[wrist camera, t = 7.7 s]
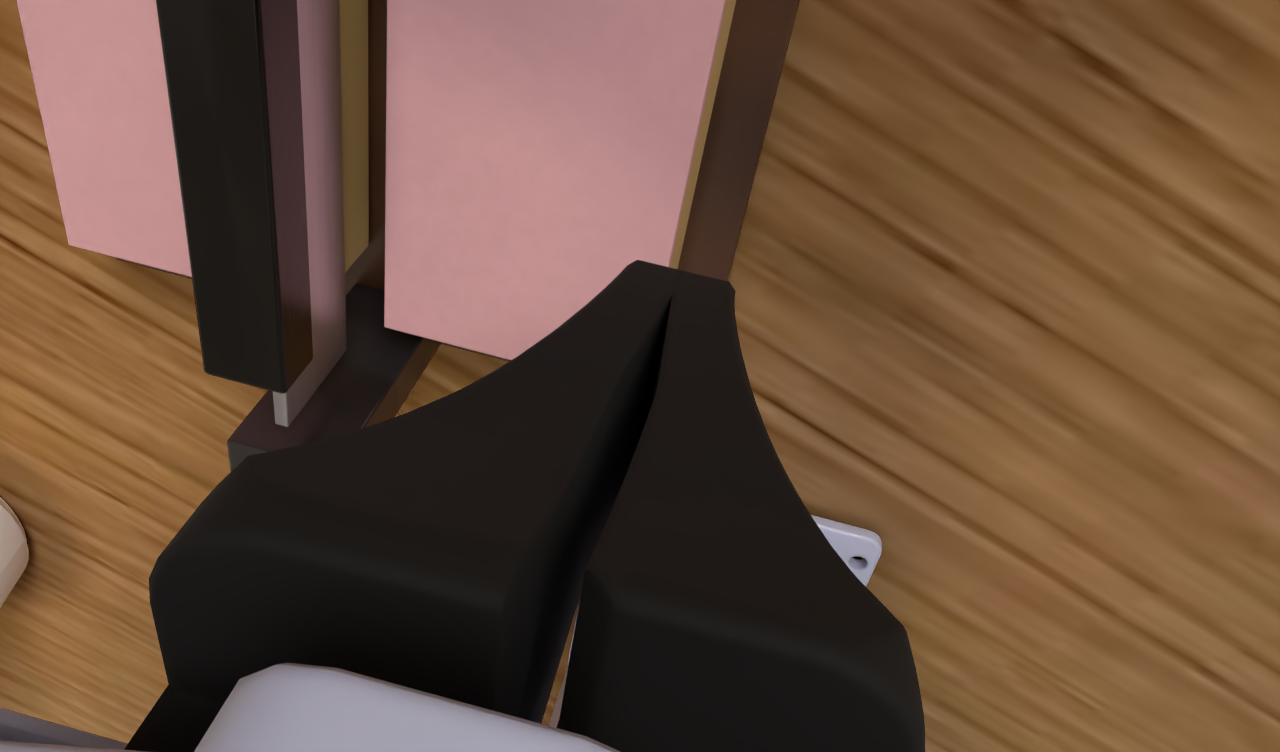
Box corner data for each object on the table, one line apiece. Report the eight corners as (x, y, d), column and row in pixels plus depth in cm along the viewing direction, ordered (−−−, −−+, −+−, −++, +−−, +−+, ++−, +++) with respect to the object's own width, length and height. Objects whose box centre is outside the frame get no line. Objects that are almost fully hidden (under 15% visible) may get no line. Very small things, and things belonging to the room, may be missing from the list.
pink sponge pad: (666, 321, 25) (641, 395, 23) (144, 188, 26) (67, 245, 24) (804, -309, 17) (788, -297, 15) (41, -472, 18) (-89, -485, 16)
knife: (374, 357, 23) (290, 475, 20) (307, 339, 23) (213, 454, 20) (376, -426, 14) (227, -438, 11) (268, -449, 14) (91, -466, 11)
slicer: (699, 392, 27) (644, 597, 21) (132, 245, 28) (-62, 405, 22) (924, -486, 16) (936, -540, 10) (-25, -677, 17) (-486, -821, 11)
